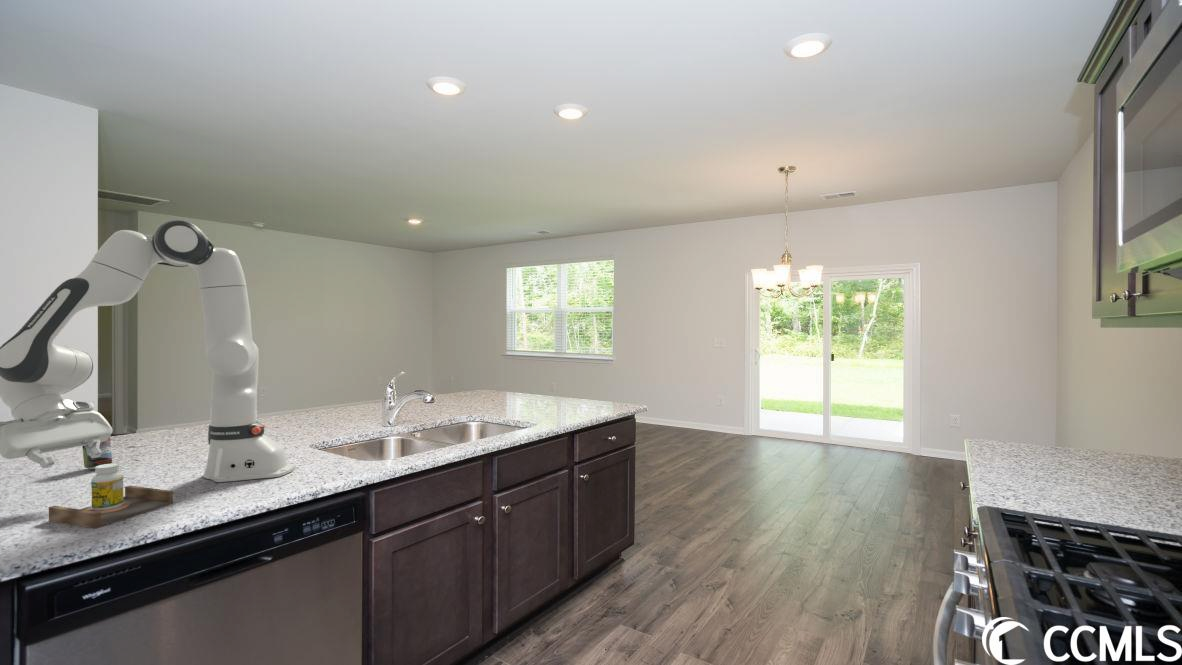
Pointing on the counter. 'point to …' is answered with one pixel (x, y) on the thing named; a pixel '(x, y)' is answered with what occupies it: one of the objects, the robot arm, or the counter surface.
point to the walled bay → (133, 505)
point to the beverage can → (103, 459)
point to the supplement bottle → (107, 487)
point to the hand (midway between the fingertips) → (74, 460)
